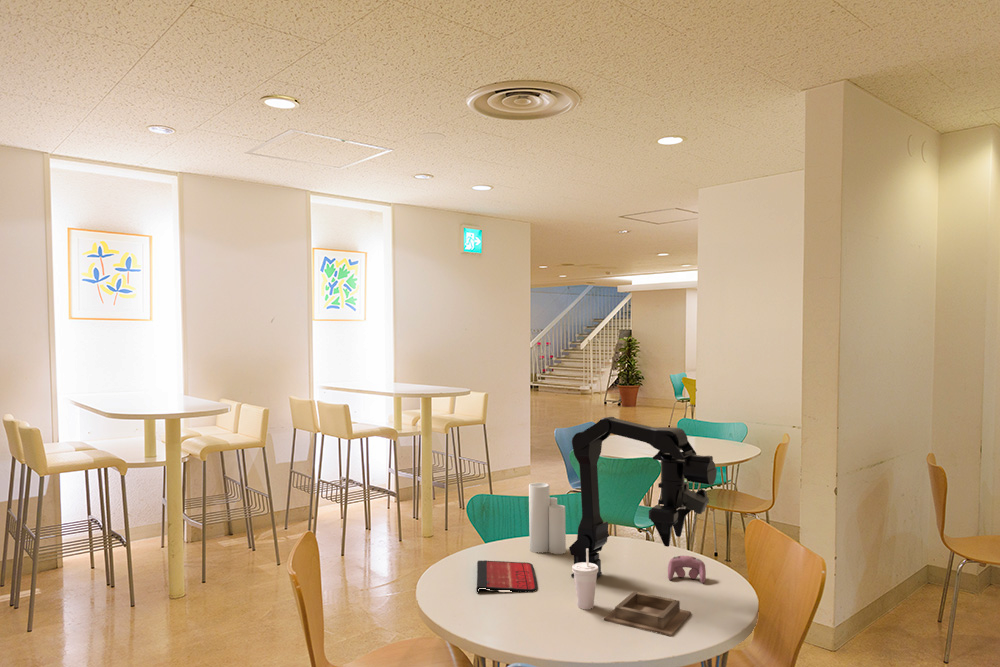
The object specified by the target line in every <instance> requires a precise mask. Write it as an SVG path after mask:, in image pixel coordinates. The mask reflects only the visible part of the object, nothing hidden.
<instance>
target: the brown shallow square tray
mask: <svg viewBox="0 0 1000 667" xmlns="http://www.w3.org/2000/svg"><path fill="white" fill-rule="evenodd" d="M680 606H681V605H680V600H677V599H672V598H667V597H662V596H657V595H654V594H649V593H644V592H638V591H632V592H631V593H630V594H629V595H628V596H626V597H625V598H624V599H623V600H622V601H620V603H618V604H617V605H616V606H614V609H613V610H611V611H610V612H609V613H608V614H606V615H605V616H604V617H603V621H606V622H610V623H615V624H619V625H623V626H627V627H631V628H635V629H640V630H642V631H643V630H644V631H648V632H651V631H652V632H653V633H655V632H657V633H656V634H659V633H661V634H660V635H664V636H669V637H672V636H673V635H674V633H676V631H678V629H679V628H680V627H681V626H682V625H683V624H684V623H685V621H687V619H688V618H690V616H691V615H692V611H690V610H686V609H681V607H680Z"/></svg>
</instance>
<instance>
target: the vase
mask: <svg viewBox="0 0 1000 667" xmlns="http://www.w3.org/2000/svg"><path fill="white" fill-rule="evenodd" d="M550 490H551V489H550V484H549V483H546V482H531V483H529V484H528V512H529V513H528V514H529V515H528V516H529V517H528V518H529V519H528V521H529V525H528V526H529V532H528V534H529V551H530V552H531V551H532V552H531V553H534V552H538V553H537V554H540V553H539V552H542V553H541V554H544V553H543V552H546V553H550V552H551V553H550V554H552V553H554V554H553V555H563V553H564V554H566V553H565V552H567V551H566V546H567V544H566V542H567V539H566V536H567V535H566V506H565V505H563V504H558V498H557V497H554V496H552V497H551V496H550V493H551V491H550ZM548 551H549V552H548Z"/></svg>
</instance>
